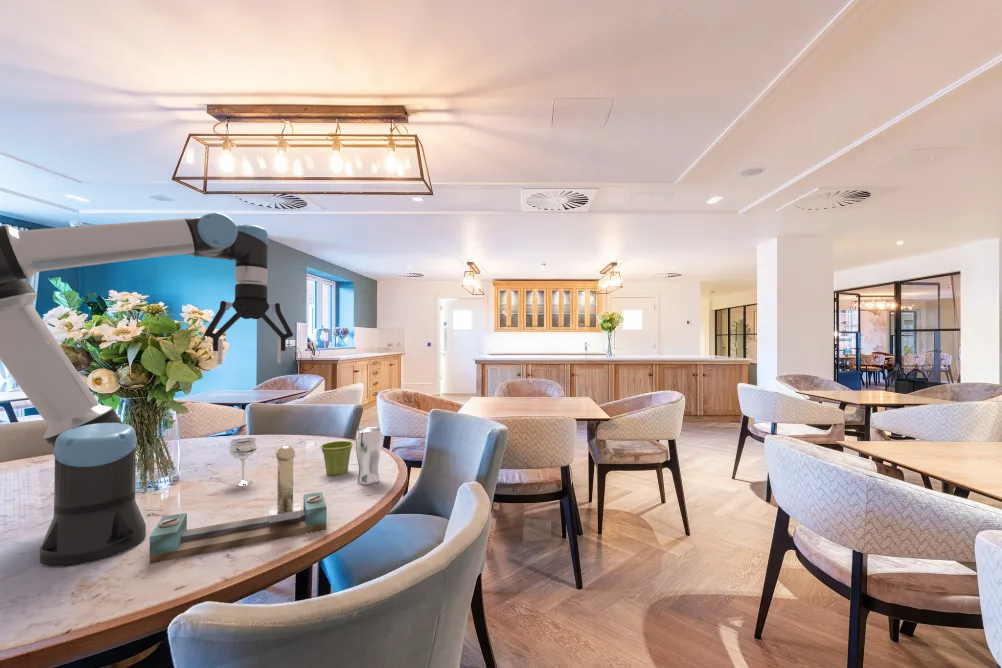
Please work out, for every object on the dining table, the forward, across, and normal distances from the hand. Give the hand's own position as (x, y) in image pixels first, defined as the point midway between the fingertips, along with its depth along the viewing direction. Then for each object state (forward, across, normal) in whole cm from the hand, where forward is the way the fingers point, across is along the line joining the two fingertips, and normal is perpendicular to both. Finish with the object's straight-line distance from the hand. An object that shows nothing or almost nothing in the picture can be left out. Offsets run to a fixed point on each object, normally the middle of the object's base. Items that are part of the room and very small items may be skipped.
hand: (250, 363), depth 114 cm
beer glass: (+35, -30, +5) cm, 46 cm away
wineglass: (+35, +2, -11) cm, 36 cm away
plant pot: (+35, -23, -8) cm, 42 cm away
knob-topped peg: (+32, -8, +28) cm, 43 cm away
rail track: (+35, -1, +28) cm, 44 cm away
